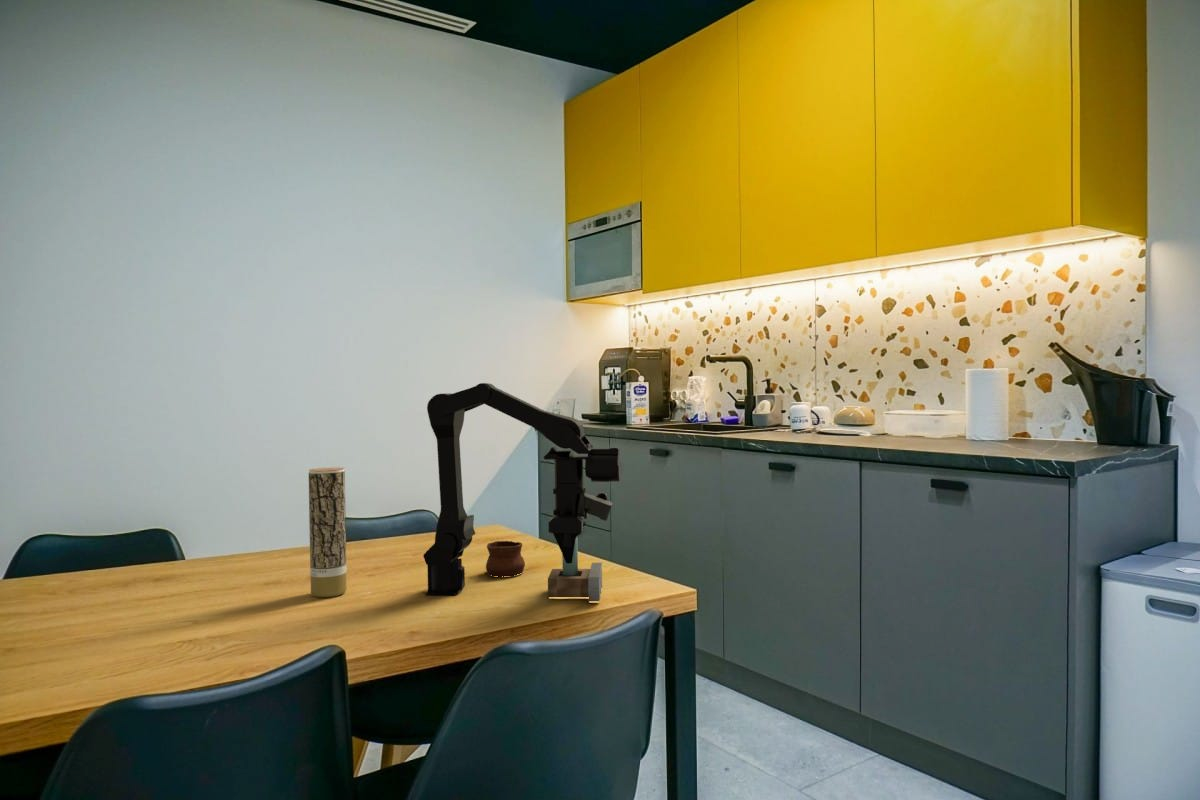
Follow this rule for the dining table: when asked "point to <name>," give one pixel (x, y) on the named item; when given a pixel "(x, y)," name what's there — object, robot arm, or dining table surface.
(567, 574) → the dowel
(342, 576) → the paper tube
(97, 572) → the dining table surface
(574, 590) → the block
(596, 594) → the bar
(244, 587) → the dining table surface
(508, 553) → the ceramic pot
